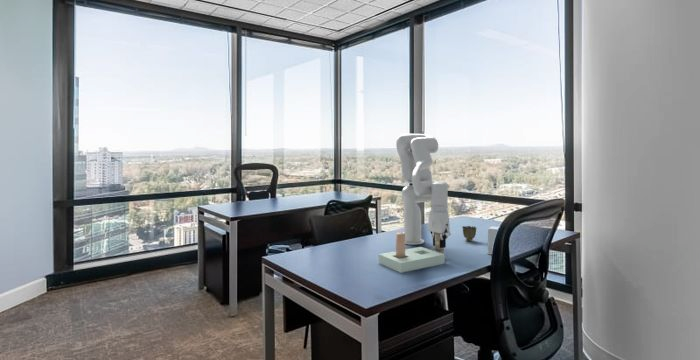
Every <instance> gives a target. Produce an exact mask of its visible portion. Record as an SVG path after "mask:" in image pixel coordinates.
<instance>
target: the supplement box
mask: <svg viewBox="0 0 700 360" xmlns="http://www.w3.org/2000/svg"><path fill="white" fill-rule="evenodd" d="M499 227H500V226H493V225H492V226H490V227H489V228H487V254H488V255H491V253H492V247H493V242H494V239H495V236H496V234H497V231H498V228H499Z"/></svg>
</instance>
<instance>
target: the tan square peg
mask: <svg viewBox="0 0 700 360" xmlns="http://www.w3.org/2000/svg"><path fill="white" fill-rule="evenodd" d="M405 249H406V244H405V233H403V232H396V233H395V251H396V258H399V259H401V258H405Z"/></svg>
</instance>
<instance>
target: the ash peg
mask: <svg viewBox="0 0 700 360" xmlns="http://www.w3.org/2000/svg"><path fill="white" fill-rule="evenodd" d="M443 236H444V234H443ZM440 240H441V237H440V234H439V233H435V246H434V251H436V252H439V253H442V254H445V253H444V250H445V248H440Z"/></svg>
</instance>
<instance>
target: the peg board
mask: <svg viewBox="0 0 700 360" xmlns="http://www.w3.org/2000/svg"><path fill="white" fill-rule="evenodd" d="M445 259H446V258H445V253H444V254H442V253H439V252H436V251H435V250H433V249H429V248H426V247H422V246H418V247H412V248H405V258H401V259H399V258H396V250H395V251H390V252H383V253H379V254H378V264H379V265H382V266H384V267H387V268H389V269H391V270H394V271H396V272H398V273H400V274H401V273H406V272H411V271H416V270H421V269H425V268H429V267H434V266H438V265H444V264H445V262H446V261H445Z"/></svg>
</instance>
